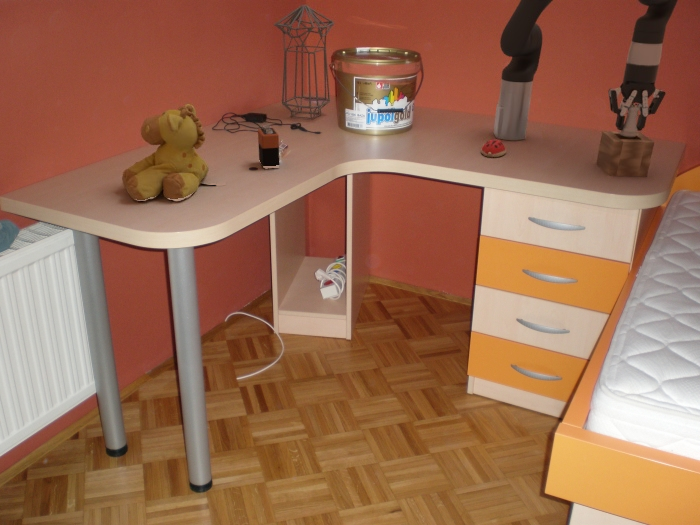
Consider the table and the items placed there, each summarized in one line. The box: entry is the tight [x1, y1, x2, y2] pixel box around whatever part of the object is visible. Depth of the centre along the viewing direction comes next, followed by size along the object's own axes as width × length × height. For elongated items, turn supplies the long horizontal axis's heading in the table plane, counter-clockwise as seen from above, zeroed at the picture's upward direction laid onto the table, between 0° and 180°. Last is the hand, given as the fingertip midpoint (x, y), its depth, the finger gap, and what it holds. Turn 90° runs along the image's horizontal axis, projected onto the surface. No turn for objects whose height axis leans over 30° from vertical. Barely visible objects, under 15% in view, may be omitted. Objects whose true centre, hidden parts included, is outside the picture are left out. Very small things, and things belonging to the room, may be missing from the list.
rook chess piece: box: [619, 103, 640, 137], centre depth 169 cm, size 4×4×8 cm
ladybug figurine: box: [480, 138, 507, 158], centre depth 186 cm, size 7×10×4 cm
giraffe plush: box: [121, 103, 209, 200], centre depth 152 cm, size 20×24×19 cm
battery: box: [257, 124, 280, 166], centre depth 171 cm, size 4×7×10 cm, turn 17°
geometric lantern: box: [273, 4, 335, 120], centre depth 213 cm, size 16×16×35 cm
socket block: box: [595, 130, 655, 177], centre depth 173 cm, size 10×10×9 cm
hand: (629, 129), depth 170 cm, fingers closed on rook chess piece, 4 cm apart
